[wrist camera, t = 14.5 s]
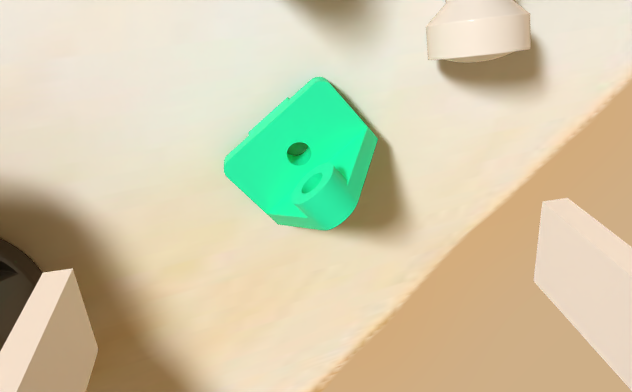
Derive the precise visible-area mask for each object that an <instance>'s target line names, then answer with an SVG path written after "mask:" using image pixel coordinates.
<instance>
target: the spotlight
mask: <svg viewBox="0 0 632 392" xmlns="http://www.w3.org/2000/svg"><path fill="white" fill-rule="evenodd" d="M445 1H446V4H445V5H444V6H443V7H442V8H441V10H440V11H439V12H438V13H437V14H436V15H435V17H434V18H433V19H432V20H431V21H430V22H429V24H428V25H427V26H426V36H427V52H428V60H439V59H444V60H448V61H453V62H462V63H468V62H481V61H488V60H493V59H497V58H500V57H503V56H506V55H508V54H510V53H513V52H515V51H522V50H528V49H531V37H530V13H529V12H527V11H526V10H525V9H524V8H522V7H521V6H520V5H519V4H517V3H516V2H515V1H514V0H445Z"/></svg>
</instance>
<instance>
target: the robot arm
mask: <svg viewBox="0 0 632 392" xmlns="http://www.w3.org/2000/svg"><path fill="white" fill-rule="evenodd" d="M534 282H535V283H536V284H537V285H538V287H539V288H540V289H541V290H542V291H543V292H544V293H545V294H546V295H547V297H548V298H549V299H550V300H551V301H552V302H553V303H554V304H555V306H556V307H557V308H558V309H559V310H560V311H561V312H562V314H563V315H564V316H565V317H566V318H567V319H568V320H569V321H570V322H571V324H572V325H573V326H574V327H575V328H576V329H577V330H578V331H579V333H580V334H581V335H582V336H583V337H584V338H585V339H586V340H587V341H588V343H589V344H590V345H591V346H592V347H593V348H594V349H595V350H596V352H597V353H598V354H599V355H600V356H601V357H602V358H603V359H604V361H605V362H606V363H607V364H608V365H609V366H610V367H611V368H612V370H613V371H614V372H615V373H616V374H617V375H618V376H619V377H620V378H621V380H622V381H623V382H624V383H625V384H626V385H627V386H628V388H629V389H630V390H631V391H632V247H631V246H629V245H628V244H627V243H626V242H624V241H623V240H622V239H620V238H619V237H618V236H616V235H615V234H614V233H612V232H611V231H610V230H609V229H607V228H606V227H605V226H603V225H602V224H601V223H599V222H598V221H597V220H596V219H594V218H593V217H591V216H590V215H589V214H588V213H586V212H585V211H584V210H583V209H581V208H580V207H579V206H577V205H576V204H575V203H573V202H572V201H571V200H570V199H568V198H564V199H557V200H550V201H543V202H542V210H541V219H540V229H539V238H538V247H537V256H536V266H535V274H534ZM98 350H99V349H98V346H97V343H96V340H95V337H94V333H93V330H92V327H91V324H90V321H89V318H88V315H87V311H86V308H85V305H84V302H83V299H82V296H81V293H80V289H79V286H78V283H77V280H76V277H75V274H74V271H73V268H72V269H65V270H58V271H51V272H44V273H41V271H40V270H39V268H38V267H37V266H36V265H35V263H34V262H33V261H32V260H31V259H30V258H29V257H28V256H27V255H25V254H24V253H23V252H22V251H20V250H19V249H17V248H16V247H15V246H13V245H11V244H10V243H8V242H6V241H4V240H2V239H0V392H86V389H87V386H88V383H89V380H90V376H91V373H92V370H93V366H94V363H95V360H96V357H97V353H98Z"/></svg>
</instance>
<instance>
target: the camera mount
mask: <svg viewBox="0 0 632 392" xmlns="http://www.w3.org/2000/svg"><path fill="white" fill-rule="evenodd" d="M377 141H378V138H377V137H376V136H375V134H374V133H373V132H372V131H371V130H370V129H369V127H368V126H367V125H366V124H365V123H364V122H363V120H362V119H361V118H360V117H359V116H358V115H357V114H356V112H355V111H354V110H353V109H352V108H351V107H350V106H349V104H348V103H347V102H346V101H345V100H344V99H343V98H342V96H341V95H340V94H339V93H338V92H337V91H336V89H335V88H334V87H333V86H332V85H331V84H330V83H329V81H328V80H327V79H325V78H323V77H315V78H313V79H311V80H310V81H309V82H308V83H307V84H306V85H305V86H304V87H302V88H301V89H300V90H299V91H298V92H297V93H296V94H295V95H294V96H292V97H291V98H290V99H289V98H288V97H287V98H286V99H285V100H284V101H283V102H282V103H281V104H279V105H278V106H277V107H276V108H275V109H274V110H273V111H272V112H271V113H269V114H268V115H267V116H266V117H265V118H264V119H263V120H262V121H261V122H260V123H258V124H257V125H256V126H255V127H254V128H253V129H252V130H251V131H250V132H249V136H248V137H247V138H246V139H245V140H244V141H243V142H241V143H240V144H239V145H238V146H237V147H236V148H235V149H234V150H233V151H231V152H230V153H229V154H228V155H227V156H226V158H225V160H224V173H225V175H226V176H227V177H228V178H229V179H230V180H231V181H232V182H233V183H234V184H235V185H236V186H237V187H238V188H239V189H241V190H242V191H243V192H244V193H245V194H246V195H247V196H248V197H249V198H250V199H251V200H252V201H253V202H255V203H256V204H257V205H258V206H259V207H260V208H261V209H262V210H263V211H264V212H265V213H266V214H267V215H269V216H270V217H271V218H272V219H273V220H274V221H275V222H276V223H277V224H280V225H287V226H294V227H302V228H309V229H317V230H330V229H332V228H335V227H336V226H338V225H339V224H341V223H342V222H343V221H344V220H346V219H347V218H348V217H349V216H350V214H351V213H352V212H353V210H354V209H355V207H356V205H357V203H358V201H359V197H360V194H361V191H362V188H363V185H364V182H365V179H366V175H367V172H368V169H369V166H370V163H371V160H372V156H373V153H374V150H375V147H376V144H377ZM297 142H302V143H305V144H307V145H308V147H307V149H306V151H305V152H304V153H303V154H301V155H298V156H293V155H290V154H289V153H287V150H288V148H289V147H290V146H291V145H292V144H294V143H297Z"/></svg>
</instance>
